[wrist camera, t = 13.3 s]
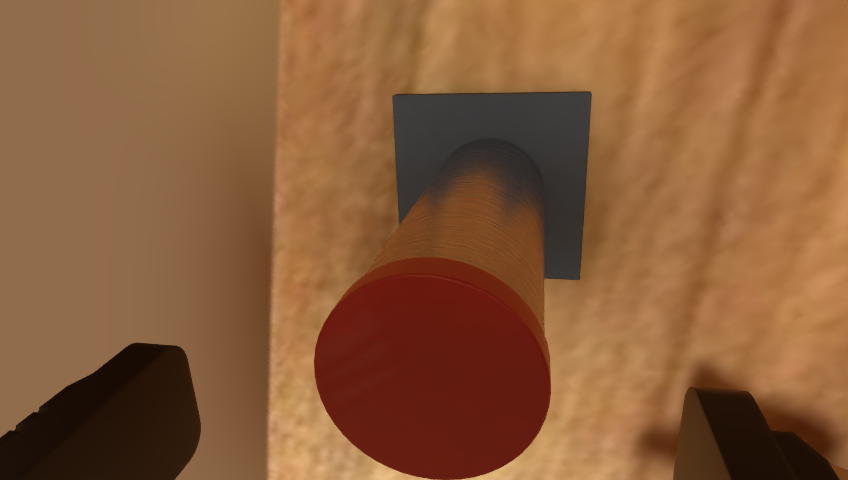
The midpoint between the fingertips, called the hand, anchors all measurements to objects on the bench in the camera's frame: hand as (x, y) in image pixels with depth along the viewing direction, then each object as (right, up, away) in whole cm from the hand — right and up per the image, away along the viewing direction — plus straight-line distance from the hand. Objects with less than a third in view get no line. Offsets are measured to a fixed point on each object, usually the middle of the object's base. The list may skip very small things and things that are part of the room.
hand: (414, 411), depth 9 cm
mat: (+3, +5, +13) cm, 14 cm away
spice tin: (+3, +5, +12) cm, 13 cm away
